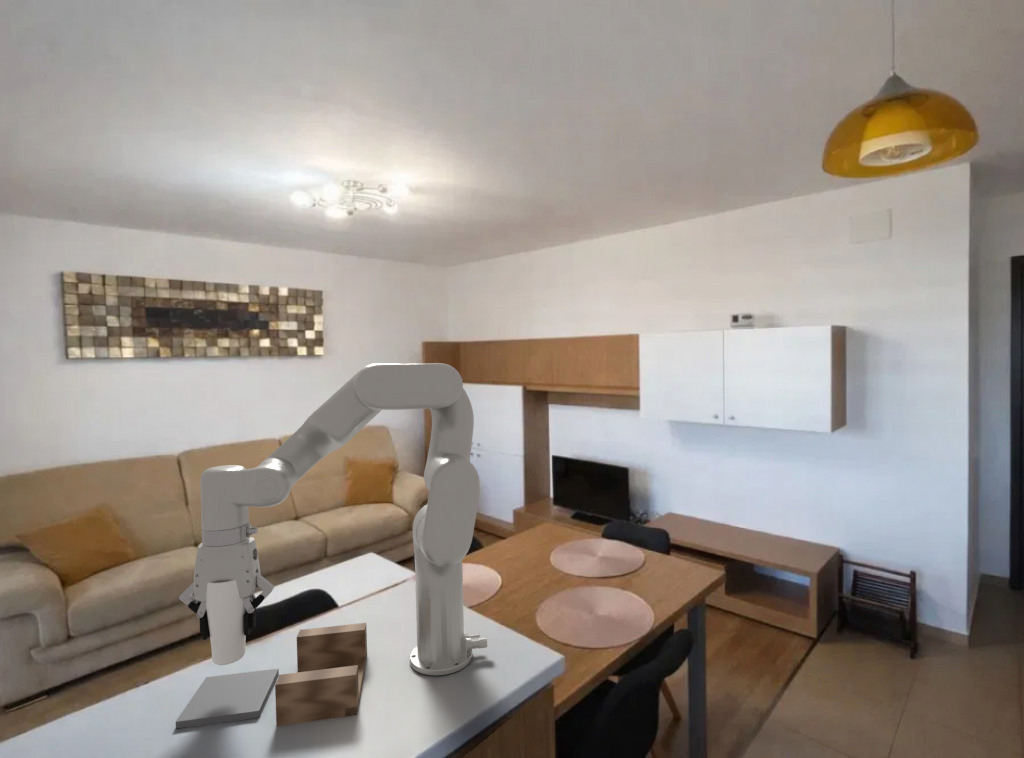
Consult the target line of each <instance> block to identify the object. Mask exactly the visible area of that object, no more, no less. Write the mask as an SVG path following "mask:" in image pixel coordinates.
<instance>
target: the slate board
mask: <svg viewBox="0 0 1024 758" xmlns="http://www.w3.org/2000/svg"><path fill="white" fill-rule="evenodd" d="M279 675H280V672H279V668H272V669H263V670H255V671H247V672H238V673H231V674H230V673H229V674H222V675H214V676H206V677H205V678H204V680H203V681H202V683H200V686H199V687H198V689H196V691H195V693H194V694H193V696H192V697H191V699H190V700H189V702H188V703H187V704H186V706H185V707H184V708H183V710H182V712H181V713H180V714H179V716H178V717H177V718H176V720H175V729H176V728H179V729H184V728H183V727H186V728H191V726H193V727H198V725H201V726H206V725H213V724H214V725H215V724H221V723H222V724H223V723H229V722H236V721H237V722H238V721H244V720H251V719H259V718H260V717H261V715H262V713H263V710H264V708H265V706H266V704H267V702H268V700H269V698H270V695H271V693H272V690H273V688H274V686H275V684H276V682H277V680H278V677H279Z"/></svg>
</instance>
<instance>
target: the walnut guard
mask: <svg viewBox="0 0 1024 758" xmlns="http://www.w3.org/2000/svg"><path fill="white" fill-rule="evenodd" d="M367 631H368V630H367V622H361V623H350V624H342V625H331V626H324V627H315V628H314V627H313V628H304V629H299V631H298V633H297V635H296V659H297V660H296V661H297V665H296V666H297V672H290V673H282V674H279V675H278V677H277V680H276V682H275V684H274V686H275V688H274V690H275V691H274V692H275V694H274V695H275V721H276V722H275V723H276V725H275V726H276V727H281V726H290V725H296V724H303V723H312V722H317V721H327V720H333V719H340V718H346V717H354V716H358V713H359V707H360V700H361V696H362V689H363V683H364V677H365V672H366V667H365V666H366V665H367V661H366V660H367V659H368V640H367V639H368V638H367V637H368V636H367V635H368V634H367Z"/></svg>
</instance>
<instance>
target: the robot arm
mask: <svg viewBox="0 0 1024 758" xmlns="http://www.w3.org/2000/svg"><path fill="white" fill-rule="evenodd" d="M463 386H464V383H463V379H462V376H461V374H460V372H459V371H458V370H457V369H456V368H455V367H453V366H452V365H450V364H447V363H443V362H442V363H441V362H435V363H431V362H430V363H382V362H379V363H378V362H377V363H371V364H370V363H369V364H367V365H366V366H363V367H362V368H361V369H360V370H359V371H357V373H355V374H354V375H353V376H352V377H351V378H349V380H347V382H345V383H344V384H343V385H342V386H340V388H339V389H338V390H336V392H334V393H333V394H332V395H331V396H330V397H329V398H328V399H326V401H324V402H323V403H322V404H321V405H320V406H319V407H317V409H316V410H314V411H313V412H312V413H311V414H310V415H309V416H308V417H307V419H306V420H305V421H304V423H303V424H301V426H300V427H299V428H298V429H297V430H296V431H295V432H294V433H293V434H292V435H291V436H289V437H288V438H287V439H286V440H284V442H283V443H282V444H280V445H279V446H278V447H277V448H276V449H275V450H274V451H273V452H272V453H271V454H269V456H267V457H266V458H265V459H264V460H262V462H261V463H260V464H258V465H257V466H256V467H252V468H246V467H244V466H243V465H240V464H239V465H237V464H228V465H225V464H224V465H217V466H212V467H209V468H207V469H205V470H204V471H203V472H202V473H201V475H200V482H199V483H200V515H201V517H200V518H201V519H200V520H201V542H200V544H199V545H198V547H197V551H196V556H195V562H194V572H193V582H192V583H191V584H190V585H189V586H188V587H187V588H186V589H185V590H184V591H183V592H182V593H181V594H180V595H179V597H178V599H179V600H180V601H181V602H182V603H183V604H184V605H186V606H187V607H188V609H189V610H191V611H192V612H193V613H194V614H196V617H197V618H198V619H199V633H200V634H202V641H205V640H206V641H207V639H209V638H210V633H209V625H208V618H207V610H206V594H207V583H208V582H211V583H221V582H228V581H232V580H236V583H237V587H238V592H239V597H240V598H241V599H243V605H244V607H245V609H246V612H245V614H244V635H245V636H246V637H247V636H249V635H250V634H251V633H252V631H253V629H255V627H256V625H257V610H256V609H257V608H258V607H259V606H260V605H261V604H262V603H263V601H265V599H266V598H267V597H269V595H271V593H272V592H273V590H274V589H275V585H274V584H273V583H271V582H270V581H269V580H268V579H267V578H265V577H264V576H263V575H262V574H261V566H260V558H259V553H258V546H257V543H256V540H255V537H251V536H253V535H257V534H258V531H259V530H258V529H259V528H258V526H253V525H252V524H251V521H250V515H249V514H250V508H249V507H252V508H272V507H276V506H278V505H281V503H283V502H285V500H286V499H287V498H288V497H289V495H290V493H291V491H292V489H293V486H295V484H296V483H297V482H298V481H300V480H301V479H302V478H303V477H304V476H305V475H306V474H307V473H308V472H309V471H310V470H311V469H312V468H313V467H314V466H315V465H317V464H318V463H319V462H320V461H321V460H323V459H324V458H325V457H327V456H328V455H329V454H331V453H333V452H336V451H338V450H340V449H341V448H343V447H344V446H345V445H346V444H347V443H349V442H350V441H351V440H352V439H353V438H354V437H355V436H356V435H357V434H359V432H360V431H361V430H362V429H363V428H364V427H366V426H367V425H368V423H370V422H371V421H372V420H373V419H374V418H375V417H376V416H377V415H378V414H380V412H381V411H384V410H387V411H390V410H391V411H399V410H400V411H402V410H404V411H405V410H427V409H428V410H429V411H430V413H431V431H430V432H431V433H430V441H429V446H428V451H427V458H426V463H425V468H424V472H423V473H424V474H423V481H424V485H425V487H426V488H427V491H428V497H427V504H426V505H424V506H422V507H420V509H419V510H418V511H417V512H416V514H415V516H414V519H413V523H412V543H413V552H414V572H415V576H414V577H415V609H416V613H415V615H416V619H415V621H416V646H415V647H414V648H413V649H412V651H411V652H410V654H409V664H410V667H411V668H412V669H413V670H414V671H416V672H418V673H420V674H422V675H426V676H437V677H438V676H446V675H450V674H453V673H456V672H458V671H461V670H462V669H464V668H466V666H468V665H469V663H471V661H472V659H473V649H474V650H475V649H486V648H488V638H487V636H486V637H481V636H480V633H479V632H478V633H472V634H469V633H466V629H465V625H464V623H465V620H464V619H465V618H464V614H465V613H464V579H463V578H464V574H463V573H464V572H463V570H464V569H463V559H465V557H466V556H467V553H468V552H469V550H470V548H471V544H472V542H473V537H474V533H475V532H474V531H475V530H474V529H475V525H476V518H477V512H478V508H479V507H478V506H479V499H480V489H481V483H480V476H479V473H478V470H477V468H476V467H475V466H474V464H473V463H472V462H471V455H472V453H471V452H472V447H473V437H474V436H473V435H474V426H475V425H474V424H475V423H474V422H475V419H474V410H473V406H472V402H471V400H470V398H469V396H468V394H467V392H466V390H465V388H464V387H463ZM258 588H260V589H261V590H262V591H261V592H260V593H259V594H257V596H256V595H255V590H257V589H258Z"/></svg>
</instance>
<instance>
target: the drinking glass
mask: <svg viewBox="0 0 1024 758" xmlns="http://www.w3.org/2000/svg"><path fill="white" fill-rule="evenodd" d="M206 610H207V618H208V625H209V633H210V637H209V638H210V647H211V660H212V662H213V664H215V665H218V666H225V665H229V664H233V663H236V662H238V661H239V660H241V659H242V658H244V656H245V655H246V651H247V650H246V637H247V636H245V635H244V614H245V612H246V609H245V607H244V605H243V599H241V598H240V597H239V592H238V587H237V583H236V580H232V581H228V582H221V583H211V582H208V583H207V594H206Z"/></svg>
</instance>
